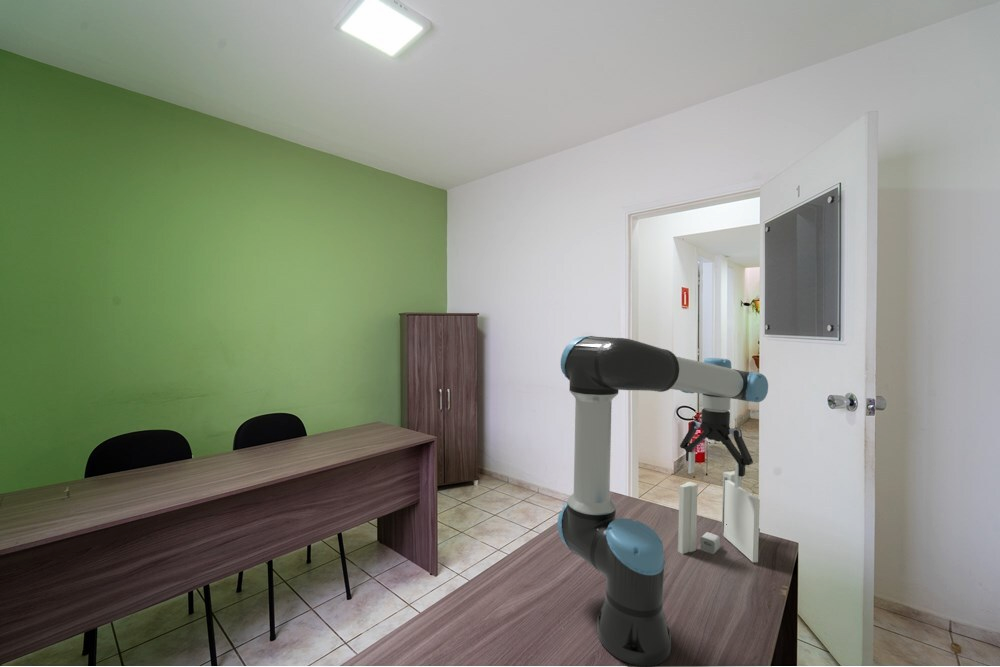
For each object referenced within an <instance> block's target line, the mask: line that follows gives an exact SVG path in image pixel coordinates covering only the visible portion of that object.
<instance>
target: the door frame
mask: <svg viewBox="0 0 1000 667" xmlns="http://www.w3.org/2000/svg"><path fill="white" fill-rule="evenodd" d="M722 476H723V478H722V507H721V508H722V510H721V512H722V513H721V534H722V535H724V503H725V480H730V481H732V482H733V483H735V470H732V471H724V472H723V474H722ZM678 488H679V489H678V490H679V491H678V496H679V497H678V527H677V528H678V530H677V532H678V534H677V535H678V536H677V537H678V538H677V540H678V541H677V553H678V554H679V553H680V554H681V555H684V554H687V553H693V552H695V551H696V550H697V531H698V530H697V527H698V526H697V525H698V524H697V523H698V518H697V517H698V484H697V483H695V482H693V481H687V482H684V484H681V485H679V487H678Z"/></svg>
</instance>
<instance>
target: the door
mask: <svg viewBox="0 0 1000 667" xmlns="http://www.w3.org/2000/svg"><path fill="white" fill-rule="evenodd" d="M734 485H735V483H733V482H732V481H730V480H725V503H724V534H723V537H724V538H725V539H727V541H729V543H730V544H732V545H733V547H735V548H736V549H737V550H739V552H741V553H742V554H743V555H744V556H745V557H746V558H747V559H749V560H750V561H751V562H752V563H758V562H759V539H760V538H759V537H760V534H759V533H760V531H761V530H760V504H761V503H760V502H761V501H760V499H759V498H758V497H757V496H755V495H753V494H752V493H750V492H748V490H745V489H744V488H742V487H741V486H740V487H738V488H736V487H734ZM726 524H727V525H726Z"/></svg>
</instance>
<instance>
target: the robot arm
mask: <svg viewBox="0 0 1000 667" xmlns="http://www.w3.org/2000/svg"><path fill="white" fill-rule="evenodd" d="M560 370H561V372H562V374H564V377H565V378H566V379H567V380H568V381H569V393H570V394H571V395H572V396H573V397H574V398H575V402H574V403H575V406H574V410H575V412H574V415H575V417H574V457H573V458H574V460H573V461H574V462H573V465H574V466H573V493H572V494H570V495H569V497H568V498H567V501H566V502H565V504H563V506H562V508H561V509H562V510H561V511H560V512H559V514H558V516H557V532H558V534H559V538H560V539H561V541H562V543H563V544H564V545H565V546H566V547H567V548H568V549H569V551H572V552H573V554H575V555H577V556H579V557H580V558H581V559H583V560H584V561H585V562H586V563H588V565H590V566H592V568H594V569H595V570H596V571H598V572H599V573H601V574H602V575H603V576H604V577H605V578H606V579H605V580H606V582H605V597H604V599H603V603H602V605H601V608H600V611H599V613H598V615H597V622H596V624H597V625H596V627H597V628H596V631H597V637H598V639H599V641H600V643H601V645H602V646H603V647H604V649H606V651H608V652H609V653H610V655H612V656H614V657H615V658H617V659H619V660H620V661H622V662H624V663H627V664H629V665H633V666H637V667H638V666H639V667H654V666H657V665H660V664H662V663H664V662H666V660H667V659H668V658H669V656H670V655H671V651H672V650H671V649H672V637H671V631H670V629H669V626H668V623H667V618H666V615H665V612H664V609H663V607H664V605H663V603H664V578H665V577H664V575H665V574H664V573H665V570H664V569H665V554H664V553H665V552H664V544H663V541H662V538H661V537H660V535H659V534H658V532H656V530H654V529H653V528H652V527H650V526H649V525H647V524H646V523H645V522H641V521H640V520H633V519H632V518H625V517H624V518H623V517H622V518H616V514H617V511H616V509H617V505H616V503H615V501H614V500H613V499H612V498H611V497H610V495H611V494H610V490H611V487H610V486H611V485H610V483H611V450H612V449H611V448H612V447H611V445H612V444H611V442H612V439H611V438H612V437H611V436H612V401H613V399H614V398H616V397H617V396H618V395H619V391H643V392H644V391H645V392H647V391H648V392H657V393H663V392H668V391H669V390H673V391H674V390H676V391H680V392H682V393H686V394H700V395H701V394H702V398H701V407H702V409H701V422H699V420H693V421H691V422H690V427H689V429H688V431H687V433H686V434H685V436H684V438H683V439H682V441H681V443H680V444H679V447H680V449H683V450H685V461H686V462H687V463H688V464H687V465H688V466H687V474H689V475H690V474H693V473H695V467H696V466H695V465H696V451H695V450H694V449H695V448H696V447H698V445H700V444H701V443H702V442H704V440H705V439H707V440H708V441H712V440H713V441H715V442H719V443H720V442H721V443H722V445H724V447H725V448H726V449H727V451H728V452H729V454H731V457H732V458H733V459H734V460H735V462H736V464H735V465H734V471H735V485H734V487H736V488H738V487H741V486H742V478H743V477H745V475H746V466H750V465H752V464H754V461H753V458H752V457H751V456H752V455H751V454H750V451H749V450H748V448H747V445H746V443H745V441H744V439H743V435H742V434H743V432H742V430H741V429H740V428H737V429H733V428H730V422H731V412H730V410H731V399H733V400H739V401H745V402H751V403H761V402H763V401H764V400H765V399H766V397H767V395H768V392H769V382H768V379H767V377H766V376H765V375H764V374H763V373H761V372H759V373H758V372H754V371H747V370H738V369H735V368H732V362H731V360H729V359H728V358H719V357H706V358H704V359H703V361H698V360H694V359H688V358H685V357H680V356H677V355H676V354H675V353H674V352H672V351H670V350H668V349H664V348H661V347H659V346H654V345H651V344H647V343H644V342H641V341H637V340H633V339H631V338H624V337H606V336H605V337H604V336H595V335H594V336H593V335H588V336H579V337H576V338H574V339H572V340H571V341H569V343H568V344H567V345H566V346H565V347H564V349H563V351H562V354H561V357H560ZM698 429H701V431H702V432H701V434H700V435H699V434H698V437H697V438H695V439H694V440H693V441H691V440H692V439H693V438H694V435H695V434H696V433H697V430H698ZM729 435H731V437H733V438H734V442H735V444H736V446H737V447H736V446H735V444H734V442H732V439H731V437H730V436H729ZM690 442H691V443H690Z"/></svg>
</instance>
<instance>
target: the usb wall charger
mask: <svg viewBox="0 0 1000 667" xmlns="http://www.w3.org/2000/svg"><path fill="white" fill-rule="evenodd" d="M720 540H721V538H720V536H719V535H716V534H714V533H711V532H708V531H706V532H705V533H704V534H703V535H702V536H701V537H700V546H699V547H700V550H701V551H703V552H706V553H708V554H712V555H714V554H715V553H717V551H718V550H719V549H720Z"/></svg>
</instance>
